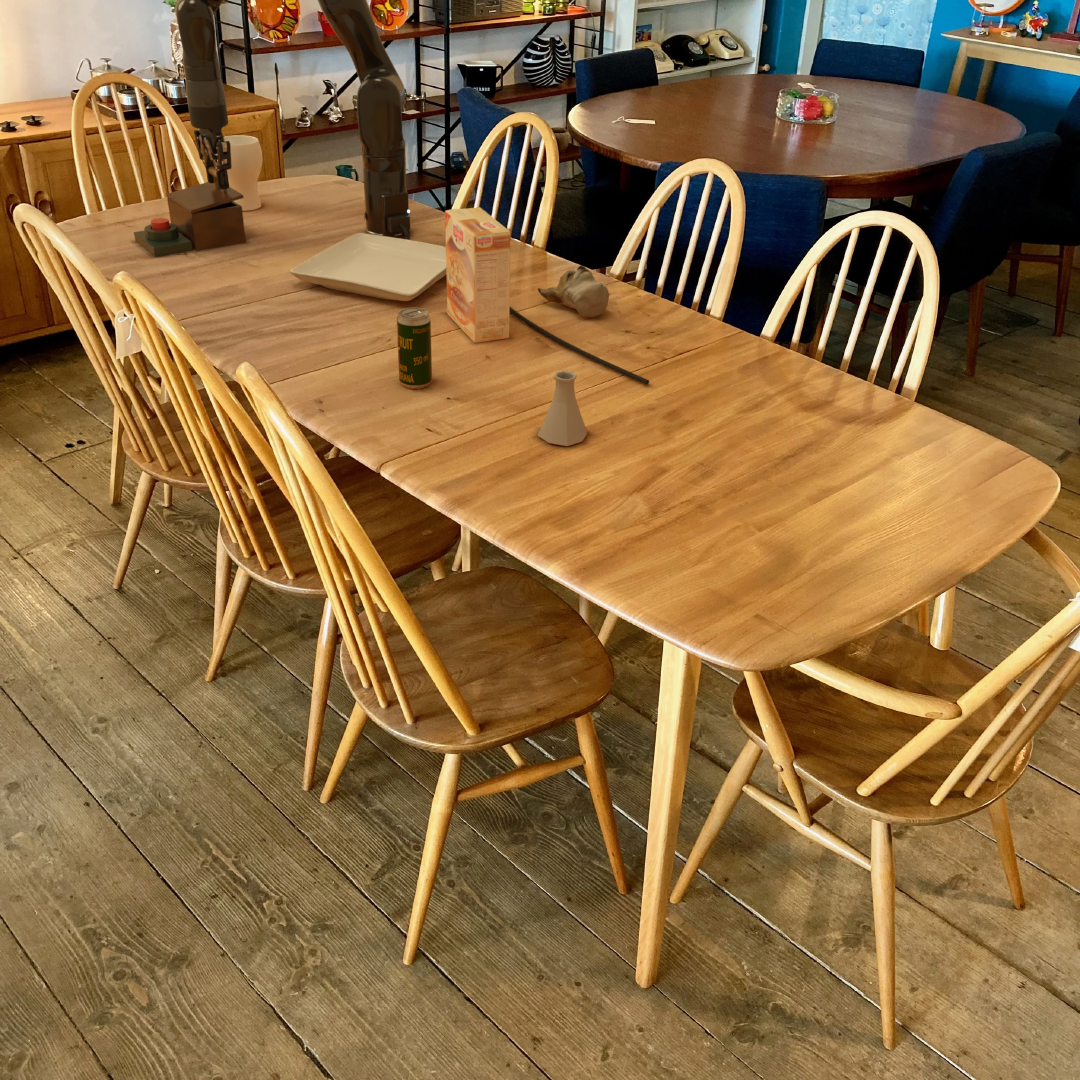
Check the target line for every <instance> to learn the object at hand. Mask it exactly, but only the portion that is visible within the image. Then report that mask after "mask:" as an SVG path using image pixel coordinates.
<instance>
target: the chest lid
mask: <svg viewBox="0 0 1080 1080" xmlns="http://www.w3.org/2000/svg"><path fill="white" fill-rule="evenodd" d="M208 172H209V173H210V174H211V175H212V176H213V180H214V183H209V182H208V181H206V182H203V183H200V184H199V183H198V184H197V185H192V186H189V187H186V188H183V189H179V190H175V191H171V192H168V193H166V198H167V197H168V198H169V199H171V200H172V201H174V202H175V203H177V204H178V205H180V206H181V207H183V208H184V209H186V210H187V211H189V212H190V213H195V212H198V211H202V210H205V209H208V208H212V207H215V206H218V205H222V204H225V203H228V202H232V201H235V200H238V199H242V198H244V197H243V195H242V194H241V193H239V192H237V191H236V190H234V189H232V188H231V187H229V188H228V189H222V190H221V189H219V188H218V183H217V176H216V170H215V167H214V166H211V167H209V169H208Z"/></svg>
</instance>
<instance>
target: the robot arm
mask: <svg viewBox="0 0 1080 1080" xmlns="http://www.w3.org/2000/svg"><path fill="white" fill-rule="evenodd" d="M224 1H225V0H176V1H175V4H174V14H175V17H176V22H177V27H178V33H179V38H180V43H181V46H182V53H181V55H182V56H181V57H182V66H183V73H184V78H185V94H186V101H187V108H188V114H189V121H190V125H191V126H192V127H193V128H194V130H193V135H194V140H195V143H196V147H197V151H198V152H197V153H198V156H199V157H198V158H199V159H200V160H201V161H202V163H203V165H204V167H205V172H206V179H207V182H209V183H214V180H213V176H212V175H211V174H210V173H209V172H208V169H209V167H211V166H214V167H215V170H216V176H217V183H218V188H219V189H221V190H222V189H228V188H229V181H228V174H227V170H228V169H231V147H230V142H229V141H225V139H224V137H225V136H224V134H223V131H222V130H223V128H225V127H227V126H228V125H229V117H228V109H227V108H228V107H227V102H226V101H227V100H226V95H225V88H224V84H223V79H222V74H221V67H220V60H219V55H218V52H217V37H216V36H217V35H216V26H215V25H216V24H215V16H214V15H215V14H216V13H217V11H218V9H219V8H220V7H221V5H222V4H223V2H224ZM317 3H318V5H319V7H320V10H321V12H322V14H323V16H324V17H325V19H326V22H327V23H328V24H329V26H330V27H331V30H332V31H333V32H334V34H335V35H336V36H337V38H338V39H339V41H340V42H341V43H342V45H343V46H344V47H345V49H346V50H347V52H348V55H349V56H350V58H351V60H352V62H353V65H354V68H355V72H356V74H357V77H358V80H359V83H360V85H359V86H358V89H357V93H356V113H357V126H358V137H359V141H360V145H361V155H362V175H363V192H364V193H363V194H364V209H365V211H364V217H363V218H364V220H365V234H371V235H378V236H386V237H393V238H401V237H405V239H406V240H411V239H410V234H411V233H410V230H411V216H410V213H411V210H410V209H409V208H410V206H409V193H408V188H407V187H408V186H407V161H406V160H407V159H406V157H407V156H406V141H405V139H404V138H405V137H404V134H403V116H402V114H403V113H402V108H403V106H404V104H405V102H406V89H405V85H404V83H403V81H402V79H401V76H400V74H399V73H398V71H397V70H396V68H395V66H394V64H393V62H392V60H391V58H390V56H389V54H388V53H387V50H386V48H385V46H384V44H383V42H382V40H381V36H380V34H379V31H378V28H377V25H376V22H375V19H374V16H373V14H372V11H371V8H370V6H369V3H368V0H317ZM226 159H227V160H226ZM217 160H218V161H217ZM222 161H223V164H222ZM509 314H511V315H513V316H514V317H516V318H517V319H518V320H520V321H521V322H523V323H524V324H526V325H528V326H529V327H530V328H532V329H533V330H535V331H537V332H538V333H539V334H542V335H544V336H545V337H547V338H548V339H550V340H552V341H554V342H556V343H558V344H560V345H562V346H563V347H565V348H567V349H570V350H571V351H573V352H574V353H577V354H579V355H581V356H582V357H585V358H587V359H589V360H591V361H593V362H595V363H598V364H601V365H602V366H604V367H606V368H608V369H611V370H613V371H615V372H618V373H619V374H622V375H624V376H626V377H629V378H631V379H633V380H635V381H636V382H640V383H641V384H644V385H646V386H647V385H649V383H650V380H649V379H647V378H645V377H643V376H640V375H638V374H636V373H634V372H631V371H629V370H627V369H624V368H622V367H620V366H618V365H615V364H613V363H611V362H609V361H607V360H604V359H602V358H600V357H598V356H596V355H594V354H592V353H589V352H587V351H586V350H583V349H582V348H579V347H577V346H576V345H573V344H571V343H569V342H567V341H566V340H564V339H562V338H560V337H558V336H556V335H554V334H553V333H551V332H549V331H548V330H546V329H544V328H543V327H540V326H539V325H537V323H534V322H533V321H531V320H530V319H528V318H526V317H525V316H524V315H522V314H521V313H519V312H518V311H517V310H515V309H513V307H511V306H509Z"/></svg>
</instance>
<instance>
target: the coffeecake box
mask: <svg viewBox="0 0 1080 1080" xmlns="http://www.w3.org/2000/svg"><path fill="white" fill-rule="evenodd" d="M444 219H445V220H444V223H445V247H446V274H447V275H446V314H447V316H448V317H449V318H450V319H452V321H454V323H455V324H456V325H457V326H458V327H459V328H460V329H461V330H462V331H463V332H464V333H465V334H466V335H467V337H468V338H469V339H470V340H471V341H473V342H472V343H475V344H477V343H478V344H479V343H485V342H489V341H497V340H498V341H499V340H506V339H509V338H510V312H509V306H510V304H511V303H510V302H511V301H510V298H511V297H510V296H511V294H510V292H511V233H512V232H511V230H509V229H508V228H506V227H505V226H504V225H503V224H501V223H500V222H499V221H498V220H496V218H494V217H493V216H491V214H489V213H488V212H487V211H486V210H484V209H483V208H482V207H470V208H451V209H446V210H444ZM510 307H511V306H510Z"/></svg>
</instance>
